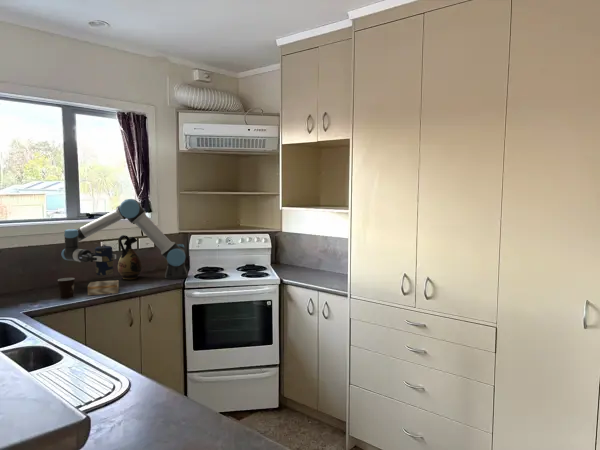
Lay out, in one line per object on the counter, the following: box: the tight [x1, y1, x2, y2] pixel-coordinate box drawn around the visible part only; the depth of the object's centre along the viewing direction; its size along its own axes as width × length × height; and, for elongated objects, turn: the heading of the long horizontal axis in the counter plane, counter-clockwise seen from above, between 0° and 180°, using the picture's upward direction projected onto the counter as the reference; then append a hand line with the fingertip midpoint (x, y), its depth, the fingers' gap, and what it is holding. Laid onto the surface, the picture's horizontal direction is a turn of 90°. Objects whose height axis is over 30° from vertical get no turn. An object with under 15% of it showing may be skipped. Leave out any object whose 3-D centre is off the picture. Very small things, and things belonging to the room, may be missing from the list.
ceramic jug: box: [117, 234, 143, 280], centre depth 306 cm, size 17×15×30 cm
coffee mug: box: [57, 277, 75, 299], centre depth 257 cm, size 12×9×10 cm
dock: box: [87, 279, 120, 296], centre depth 267 cm, size 16×14×5 cm
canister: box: [94, 244, 114, 276], centre depth 266 cm, size 10×10×18 cm
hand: (108, 258), depth 265 cm, fingers closed on canister, 10 cm apart
